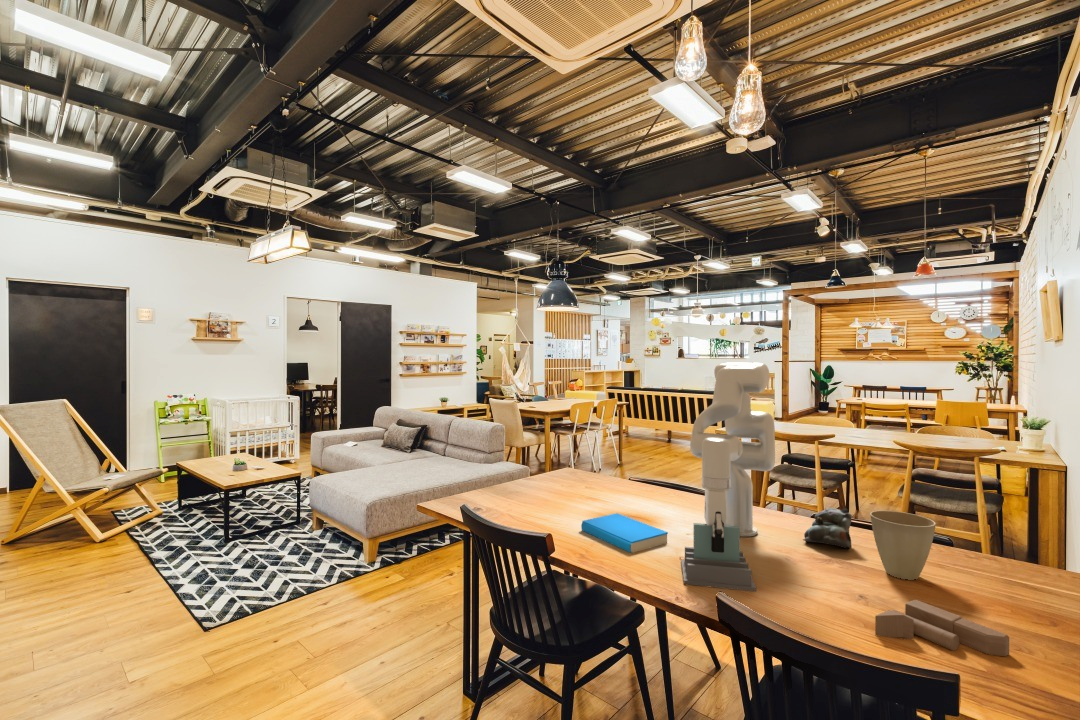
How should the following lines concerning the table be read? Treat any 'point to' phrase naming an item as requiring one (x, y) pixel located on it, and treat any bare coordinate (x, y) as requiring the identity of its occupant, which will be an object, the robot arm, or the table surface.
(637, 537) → the book
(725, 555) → the thin teal board
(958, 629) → the wooden block set
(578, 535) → the table surface
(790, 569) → the table surface
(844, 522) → the grey lumpy mound
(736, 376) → the robot arm
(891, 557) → the plant pot
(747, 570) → the dish rack
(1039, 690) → the table surface
